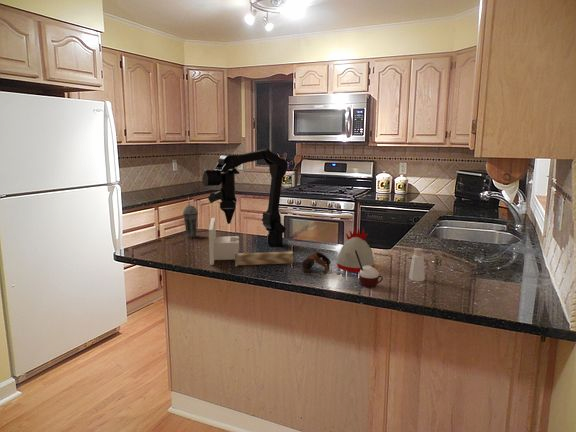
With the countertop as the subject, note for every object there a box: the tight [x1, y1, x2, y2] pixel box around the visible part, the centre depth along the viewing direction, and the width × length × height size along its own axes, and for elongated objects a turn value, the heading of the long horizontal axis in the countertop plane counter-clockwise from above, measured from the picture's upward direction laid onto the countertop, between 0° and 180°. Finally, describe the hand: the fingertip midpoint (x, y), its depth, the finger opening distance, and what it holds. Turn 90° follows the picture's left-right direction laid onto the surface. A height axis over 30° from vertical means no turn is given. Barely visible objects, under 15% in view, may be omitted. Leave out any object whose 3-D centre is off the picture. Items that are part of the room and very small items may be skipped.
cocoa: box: [355, 250, 383, 288], centre depth 139 cm, size 10×6×12 cm, turn 68°
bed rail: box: [234, 250, 294, 268], centre depth 165 cm, size 23×6×5 cm, turn 98°
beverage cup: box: [182, 196, 199, 238], centre depth 208 cm, size 7×7×20 cm
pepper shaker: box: [408, 247, 426, 283], centre depth 146 cm, size 5×5×11 cm
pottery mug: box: [301, 251, 332, 275], centre depth 153 cm, size 12×10×8 cm
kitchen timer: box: [336, 228, 375, 273], centre depth 160 cm, size 14×14×15 cm
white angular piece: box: [208, 217, 240, 266], centre depth 174 cm, size 12×24×14 cm, turn 8°
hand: (229, 221), depth 178 cm, fingers open, 9 cm apart
